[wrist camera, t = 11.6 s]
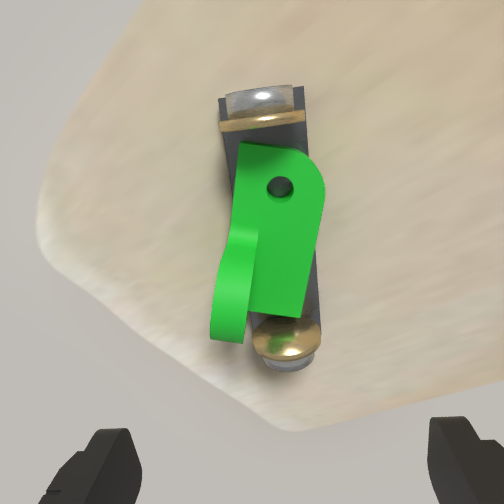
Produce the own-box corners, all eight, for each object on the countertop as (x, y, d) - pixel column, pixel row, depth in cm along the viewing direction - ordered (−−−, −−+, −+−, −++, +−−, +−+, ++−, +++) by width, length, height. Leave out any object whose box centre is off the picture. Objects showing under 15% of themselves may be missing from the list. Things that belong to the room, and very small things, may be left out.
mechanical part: (298, 304, 29) (306, 372, 21) (225, 294, 29) (207, 357, 21) (329, 152, 24) (352, 170, 17) (242, 140, 24) (226, 152, 17)
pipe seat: (302, 87, 24) (309, 79, 18) (319, 327, 31) (329, 375, 25) (220, 99, 24) (204, 95, 19) (255, 332, 31) (250, 379, 26)
